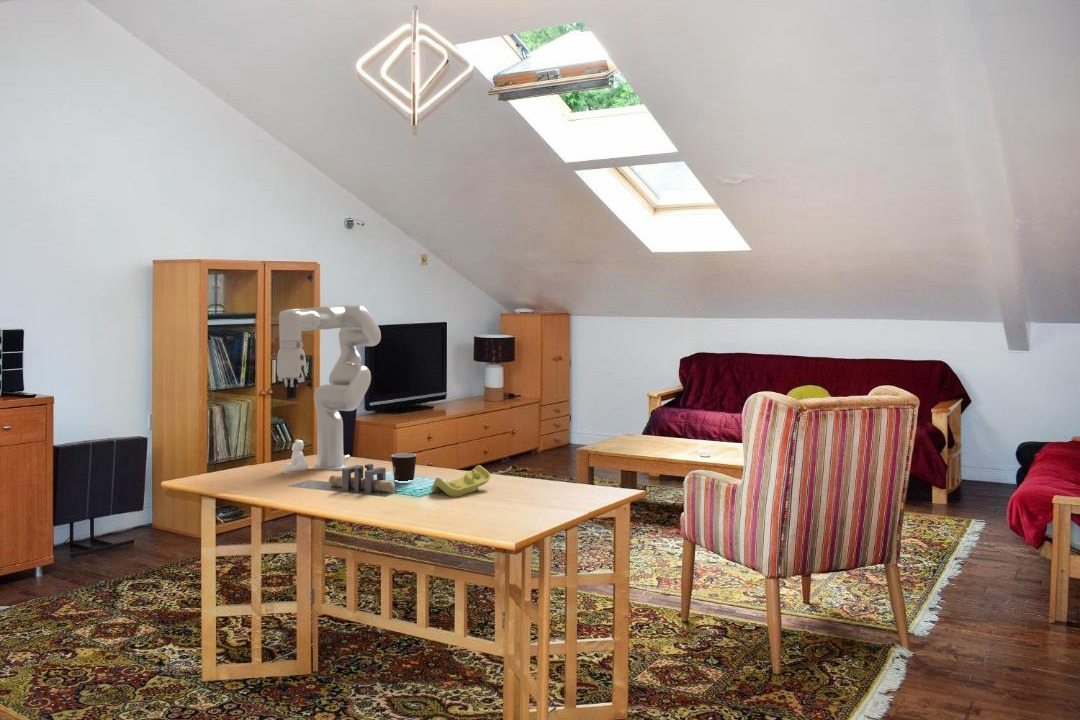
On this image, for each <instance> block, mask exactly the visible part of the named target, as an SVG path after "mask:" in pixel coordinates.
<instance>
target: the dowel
mask: <svg viewBox="0 0 1080 720" xmlns="http://www.w3.org/2000/svg"><path fill="white" fill-rule="evenodd" d="M328 482H329V485H330V486H335V487H342V475H333V474H332V475H330V477H329V478H328ZM395 487H396V483H395V482H394V480H393V481H392V480H386V481H383V480H377V479H374V491H382V492H393V491H394V489H396V488H395ZM351 488H354V476H353V477H352V476H351ZM361 489H363V490H365V478H364V477H363V478H361Z"/></svg>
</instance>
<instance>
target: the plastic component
mask: <svg viewBox="0 0 1080 720" xmlns="http://www.w3.org/2000/svg"><path fill="white" fill-rule="evenodd" d="M491 478H492V477H491V473H490V472H489V471H488V470H487V469H486V468H484V467H483V466H482V465H480V464H479V465H476V466H475V467H474V468H473V469H472V470H469V471H467V472H466V473H465V474H464V476H461V477H458V478H454V479H452V480H448V481H445V480H443V479H442V478H441V477H436V478H435V479H434V482H433V484H432V486H431V488H430V489H431V490H430V491H431V492H432V493H433V492H434V493H433V494H438V493H441V492H444V493H445V494H446V495H448V496H449V497H451V498H456V497H461V496H464V495H467V494H471V493H473V492H476V491H478V489H479V487H482V486H484V485H485V484H487V483H488V482H489V481H490V479H491Z"/></svg>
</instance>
